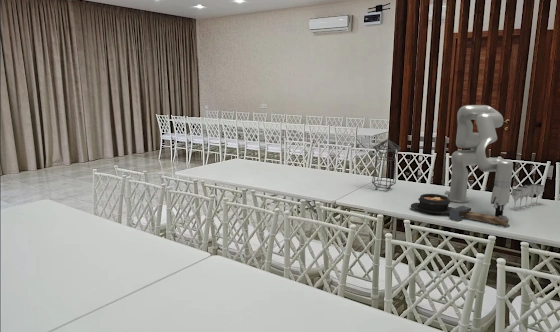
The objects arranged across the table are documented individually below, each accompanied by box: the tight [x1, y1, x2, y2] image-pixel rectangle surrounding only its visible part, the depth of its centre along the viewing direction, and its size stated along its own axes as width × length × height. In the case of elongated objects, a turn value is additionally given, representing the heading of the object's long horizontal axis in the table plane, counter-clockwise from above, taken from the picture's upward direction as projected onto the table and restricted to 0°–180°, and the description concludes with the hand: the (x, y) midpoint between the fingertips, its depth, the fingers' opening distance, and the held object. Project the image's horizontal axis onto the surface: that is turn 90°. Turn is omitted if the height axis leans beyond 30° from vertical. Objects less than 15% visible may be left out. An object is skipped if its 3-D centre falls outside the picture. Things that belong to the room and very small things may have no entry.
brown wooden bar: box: [461, 211, 510, 226], centre depth 209 cm, size 22×5×4 cm, turn 50°
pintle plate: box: [494, 223, 511, 228], centre depth 204 cm, size 7×7×1 cm
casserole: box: [410, 193, 454, 215], centre depth 226 cm, size 25×19×8 cm
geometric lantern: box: [371, 139, 402, 192], centre depth 271 cm, size 16×16×35 cm
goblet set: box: [509, 183, 545, 212], centre depth 235 cm, size 28×6×13 cm, turn 119°
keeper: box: [449, 205, 472, 222], centre depth 214 cm, size 5×12×6 cm, turn 123°
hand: (498, 216), depth 213 cm, fingers closed
